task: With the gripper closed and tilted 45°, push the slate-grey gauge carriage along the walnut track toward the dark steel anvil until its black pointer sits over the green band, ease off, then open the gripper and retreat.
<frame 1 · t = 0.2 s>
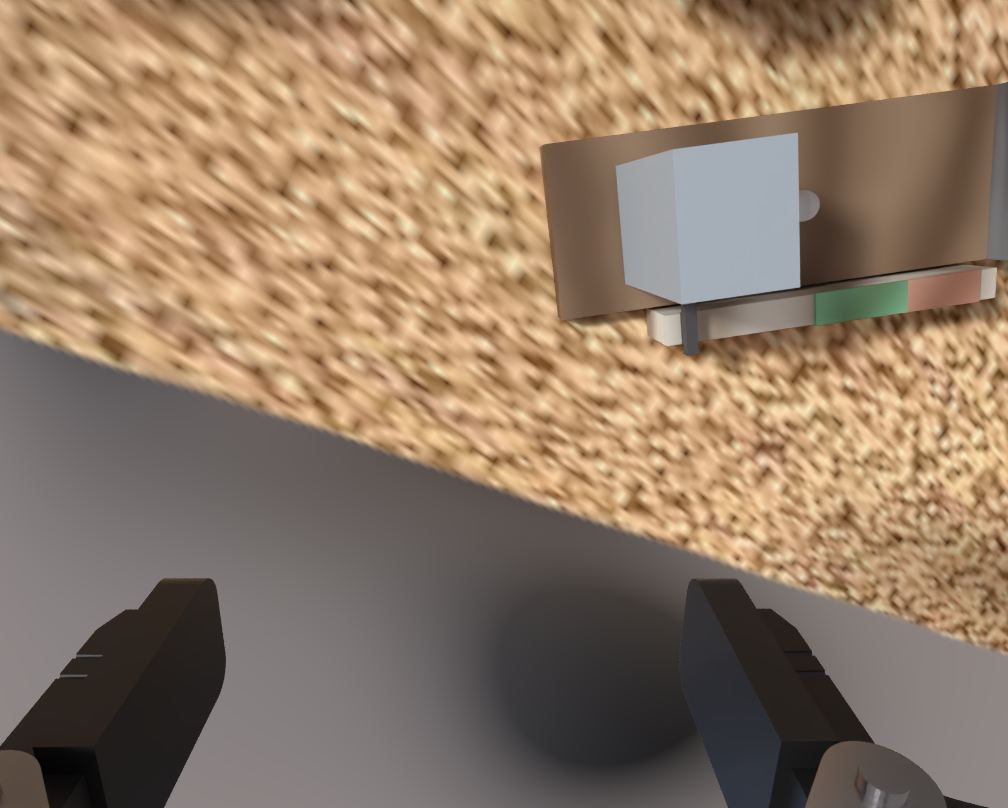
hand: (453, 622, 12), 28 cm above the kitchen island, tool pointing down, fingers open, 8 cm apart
gauge carriage: (720, 258, 32), point 6 cm above the kitchen island, slide at 0.0 cm
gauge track: (798, 200, 38), on the kitchen island
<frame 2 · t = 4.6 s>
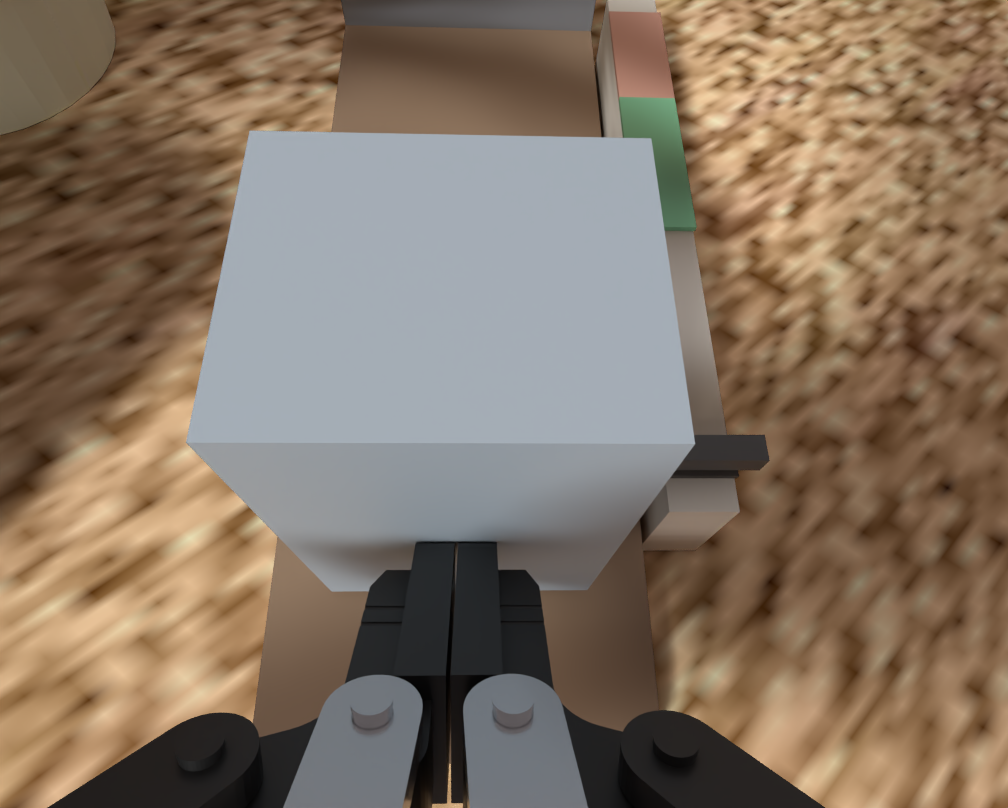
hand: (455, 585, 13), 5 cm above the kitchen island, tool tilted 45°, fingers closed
gauge carriage: (551, 370, 14), point 6 cm above the kitchen island, slide at 0.1 cm, touching gripper
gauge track: (466, 275, 22), on the kitchen island
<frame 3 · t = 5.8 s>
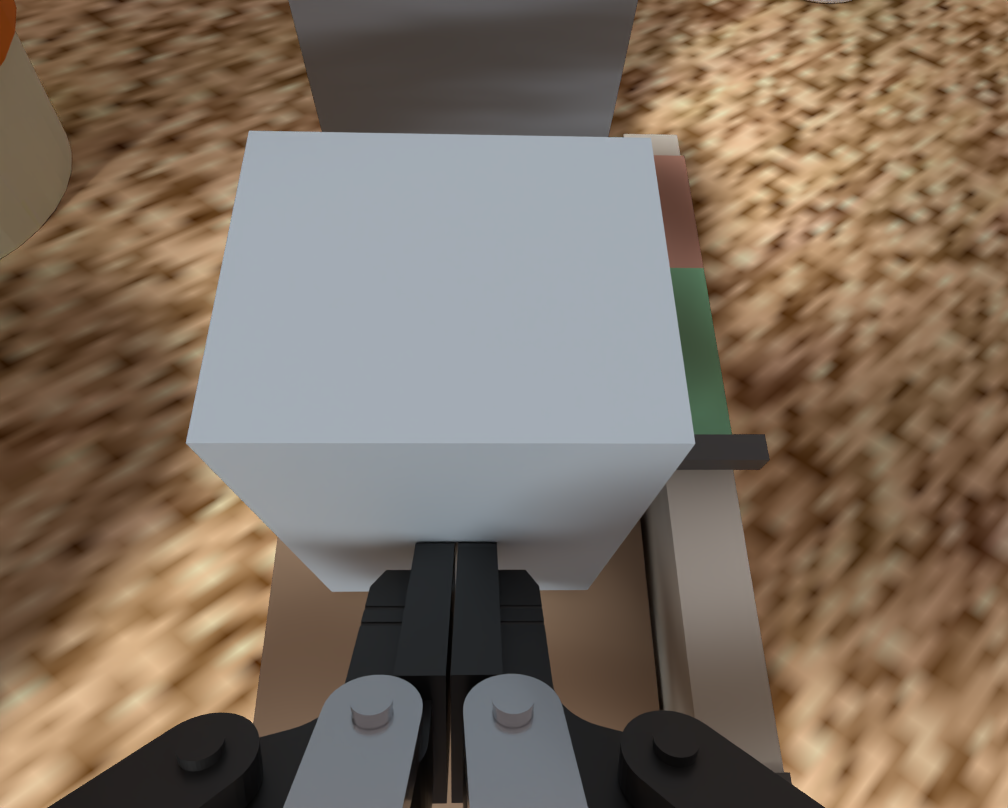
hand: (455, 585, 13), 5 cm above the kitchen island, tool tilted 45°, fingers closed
gauge carriage: (551, 370, 14), point 6 cm above the kitchen island, slide at 6.5 cm, touching gripper
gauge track: (463, 459, 20), on the kitchen island
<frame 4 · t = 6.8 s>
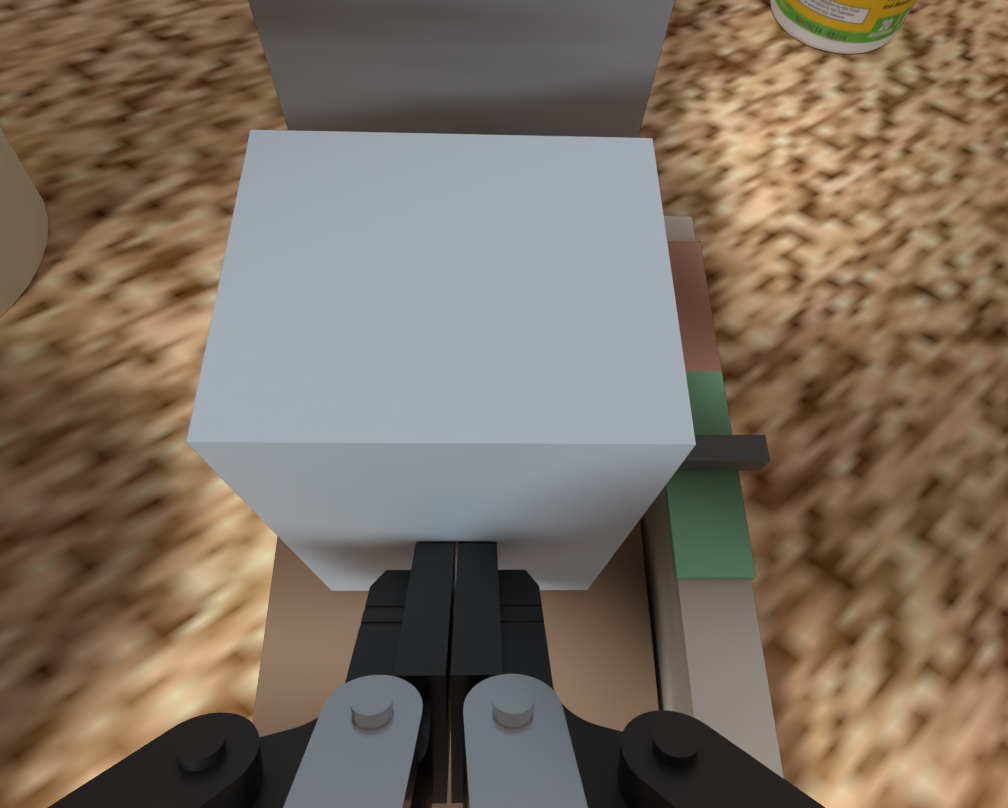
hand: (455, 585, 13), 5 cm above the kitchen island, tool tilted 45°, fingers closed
supplement bottle: (828, 19, 29), on the kitchen island
gauge carriage: (551, 370, 14), point 6 cm above the kitchen island, slide at 9.6 cm, touching gripper
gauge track: (462, 568, 18), on the kitchen island
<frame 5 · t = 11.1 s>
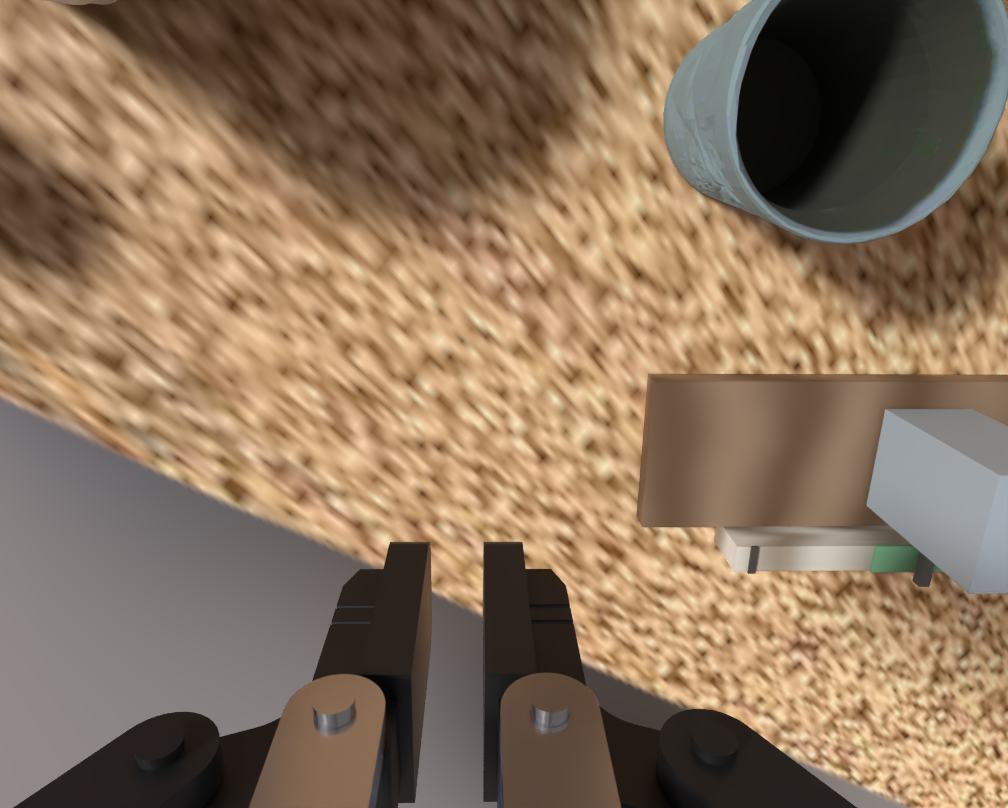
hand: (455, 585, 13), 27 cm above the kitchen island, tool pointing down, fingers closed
gauge carriage: (980, 524, 36), point 6 cm above the kitchen island, slide at 9.6 cm
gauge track: (873, 446, 42), on the kitchen island
teal gray cup: (744, 120, 36), on the kitchen island
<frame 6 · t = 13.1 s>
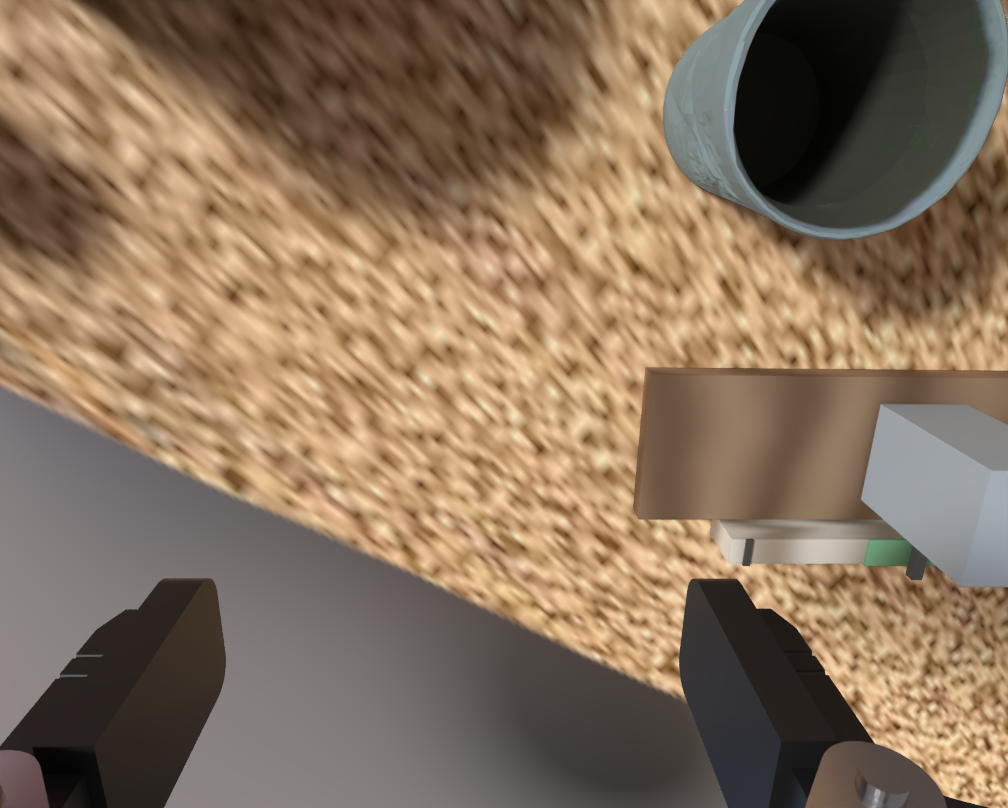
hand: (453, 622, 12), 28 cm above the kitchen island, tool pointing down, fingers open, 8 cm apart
gauge carriage: (973, 519, 37), point 6 cm above the kitchen island, slide at 9.6 cm
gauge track: (869, 441, 42), on the kitchen island
teal gray cup: (743, 115, 36), on the kitchen island
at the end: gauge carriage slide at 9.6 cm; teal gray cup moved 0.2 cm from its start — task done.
